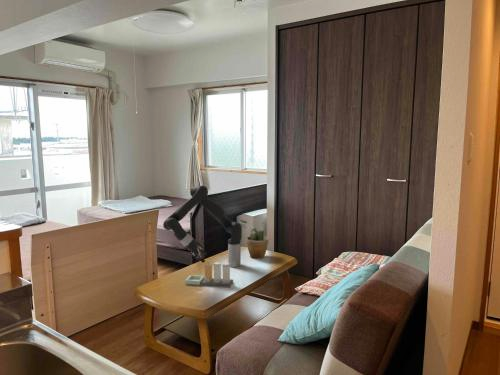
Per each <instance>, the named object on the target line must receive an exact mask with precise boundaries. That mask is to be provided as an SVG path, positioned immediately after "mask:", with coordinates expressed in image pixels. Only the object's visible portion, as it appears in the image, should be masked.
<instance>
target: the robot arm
mask: <svg viewBox="0 0 500 375" xmlns="http://www.w3.org/2000/svg"><path fill="white" fill-rule="evenodd" d="M189 193H190V196H191V197H190V198H189V199H187V200H186V201H185V202H183V203H182V204H181V205H179V207H177V209H175V211H173V213H172V214H171V215H170V216H168V217H167V218H166V219H165V220H164V221H163V224H162V226H163V228H164V229H165V230H166V231H171V230H172V231H173V235H174V237H175V238H176V239H177V240H178V241H179V242H180V244H182V245H183V246H184V247H185V248H186V249H187V250H188V251H191V252H192V253H191V256H192V257H193V258H194V259H195V260H196V261H200V262H201V263H204V264H205V263H206V260H205V259H204V258H203V257H202V256H201V255H203V256H207V254H208V253H207V251H205V249H204V246H203V245H202V244H201V243H199V241H196V239H195V238H193V237H192V235H191V234H190V233H188V231H186V230H185V229H184V228H183V226H182V225H181V223H180V221H182V220H183V219H184V218H185V217H186V216H187V215H188V213H190V212H191V210H193V208H194V207H196V206H197V205H198V204H200V205H201V207H203V208H204V209H205V210H206V211H207V212H208V213H209V214H210V215H211V216H212V218H213V219H215V220H216V221H217V222H218V223H219V224H220V225H221V226H222V227H223V228H224V230H225V231H226V232H227V233H228V234H230V235H231V237H230V238H229V239H228V240H227V245H228V246H227V250H228V253H227V255H228V256H227V257H228V258H227V259H228V260H227V261H228V263H230V268H240V267H241V265H242V263H241V254H242V253H241V252H242V250H241V241H242V238H243V237H242V236H243V235H242V234H243V230H242V229H243V228H242V224H241V223H239V222H235V221H233V220H231V219H230V218H229V217H228V216H227V214H226V211H225V209H224V207H222V205H220V203H218V202H216V201H215V200H212V198H210V197H208V194H209V189H208V187H207V186H205V185H195V186H194V185H193V186H192V187H191V188H190V190H189ZM201 253H202V254H201Z"/></svg>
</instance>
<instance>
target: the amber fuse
mask: <svg viewBox="0 0 500 375" xmlns="http://www.w3.org/2000/svg"><path fill="white" fill-rule="evenodd" d="M204 276H205V279H206V278H207V279H210V282H211V281H212V278H213V262H212V261H205V262H204Z"/></svg>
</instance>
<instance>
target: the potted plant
mask: <svg viewBox="0 0 500 375" xmlns="http://www.w3.org/2000/svg"><path fill="white" fill-rule="evenodd" d="M264 234H265V229H264V228H262V227H261V228H259V230H257V227H256V226H252V227H251V228H250V236H246V238H245V241H246V242H245V243H246V246H247V250H248V253H249V257H250V259H253V260H262V259H264V258H265V255H266V253H267V248H268V245H269V240H270V239H269V237H268V236H266V235H265V236H264Z"/></svg>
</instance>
